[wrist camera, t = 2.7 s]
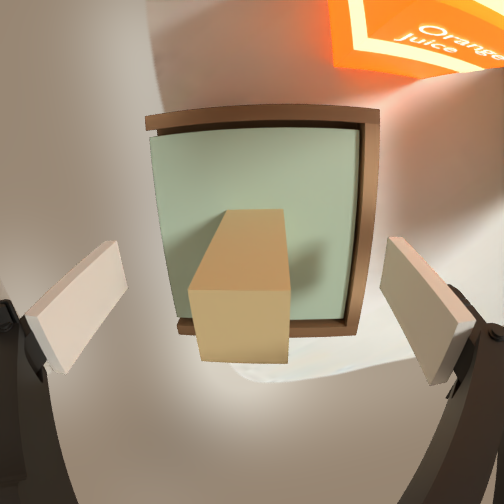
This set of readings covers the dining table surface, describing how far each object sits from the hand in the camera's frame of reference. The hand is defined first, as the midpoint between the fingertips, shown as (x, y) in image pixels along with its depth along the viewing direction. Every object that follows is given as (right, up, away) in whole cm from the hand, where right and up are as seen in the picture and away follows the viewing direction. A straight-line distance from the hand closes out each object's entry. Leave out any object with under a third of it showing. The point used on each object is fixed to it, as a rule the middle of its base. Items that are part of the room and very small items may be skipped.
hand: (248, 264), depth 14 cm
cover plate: (0, +2, +4) cm, 4 cm away
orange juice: (+10, +18, +2) cm, 21 cm away
